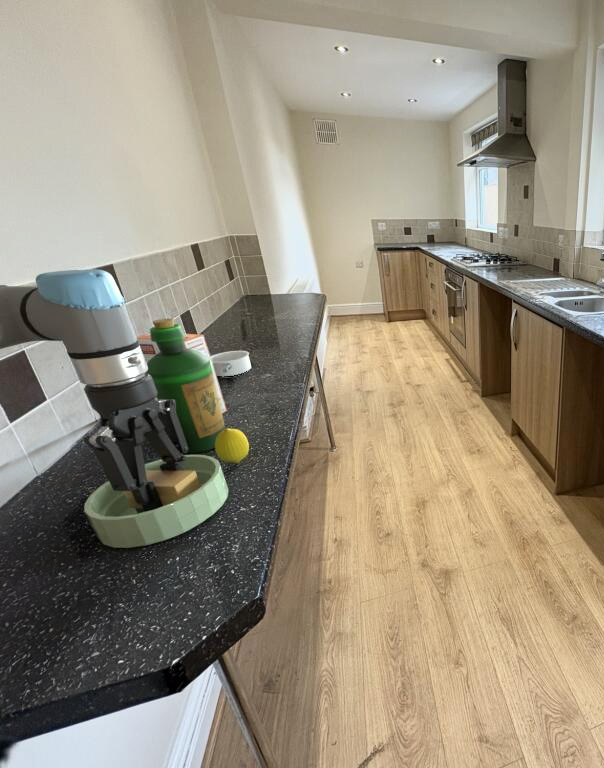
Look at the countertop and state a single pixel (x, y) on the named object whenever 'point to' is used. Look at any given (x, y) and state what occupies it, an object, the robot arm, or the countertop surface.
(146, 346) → the cracker box
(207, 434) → the bottle
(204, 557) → the countertop surface
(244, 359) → the saucepan
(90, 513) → the bowl
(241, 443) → the lemon
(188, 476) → the wooden block
